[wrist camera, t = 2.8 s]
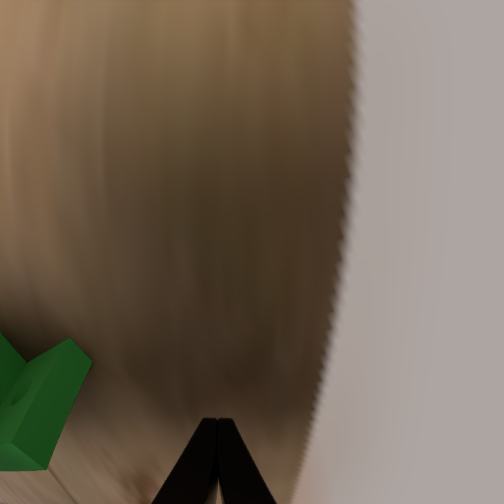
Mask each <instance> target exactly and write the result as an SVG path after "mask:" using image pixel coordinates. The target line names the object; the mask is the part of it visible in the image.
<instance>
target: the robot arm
mask: <svg viewBox="0 0 504 504" xmlns="http://www.w3.org/2000/svg"><path fill="white" fill-rule="evenodd" d="M218 477H219V487H220V494H221V500H222V504H277V503H276V501H275V500H274V498H273V496H272V494H271V492H270V491H269V489H268V487H267V485H266V483H265V481H264V480H263V478H262V476H261V474H260V472H259V470H258V468H257V466H256V465H255V463H254V461H253V459H252V457H251V455H250V453H249V451H248V449H247V447H246V445H245V443H244V441H243V439H242V437H241V435H240V433H239V431H238V429H237V427H236V425H235V423H234V421H233V419H231V418H219V419H218V420H217V418H207V417H205V418H203V419H202V420H201V422H200V424H199V425H198V427H197V429H196V430H195V432H194V434H193V436H192V437H191V439H190V441H189V442H188V444H187V446H186V447H185V449H184V451H183V452H182V454H181V456H180V457H179V459H178V461H177V462H176V464H175V466H174V467H173V469H172V471H171V472H170V474H169V476H168V477H167V479H166V481H165V482H164V484H163V485H162V487H161V489H160V490H159V492H158V494H157V495H156V497H155V498H154V500H153V502H152V503H151V504H216V497H217V490H218Z"/></svg>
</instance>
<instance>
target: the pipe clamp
mask: <svg viewBox="0 0 504 504" xmlns="http://www.w3.org/2000/svg"><path fill="white" fill-rule="evenodd" d="M92 363H93V361H92V360H91V359H90V358H89V357H88V356H87V355H86V354H85V353H84V352H83V351H82V350H81V349H80V348H79V347H78V345H77V344H76V343H75V342H74V341H73V340H72V339H71V338H68V339H66V340H65V341H63V342H61V343H59V344H58V345H56V346H54V347H53V348H51V349H49V350H48V351H46V352H44V353H43V354H41V355H39V356H38V357H36V358H34V359H33V360H31V361H29V362H28V363H27V362H26V361H25V360H24V359H23V358H22V357H21V356H20V355H19V353H18V352H17V351H16V350H15V349H14V348H13V347H12V345H11V344H10V343H9V342H8V341H7V340H6V338H5V337H4V336H3V335H2V333H1V332H0V471H37V470H47V467H48V464H49V462H50V459H51V456H52V454H53V451H54V449H55V446H56V444H57V441H58V439H59V436H60V434H61V431H62V429H63V427H64V424H65V422H66V420H67V417H68V415H69V413H70V410H71V408H72V406H73V404H74V401H75V399H76V397H77V395H78V392H79V390H80V388H81V386H82V384H83V382H84V379H85V377H86V375H87V373H88V371H89V369H90V367H91V365H92Z"/></svg>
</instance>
